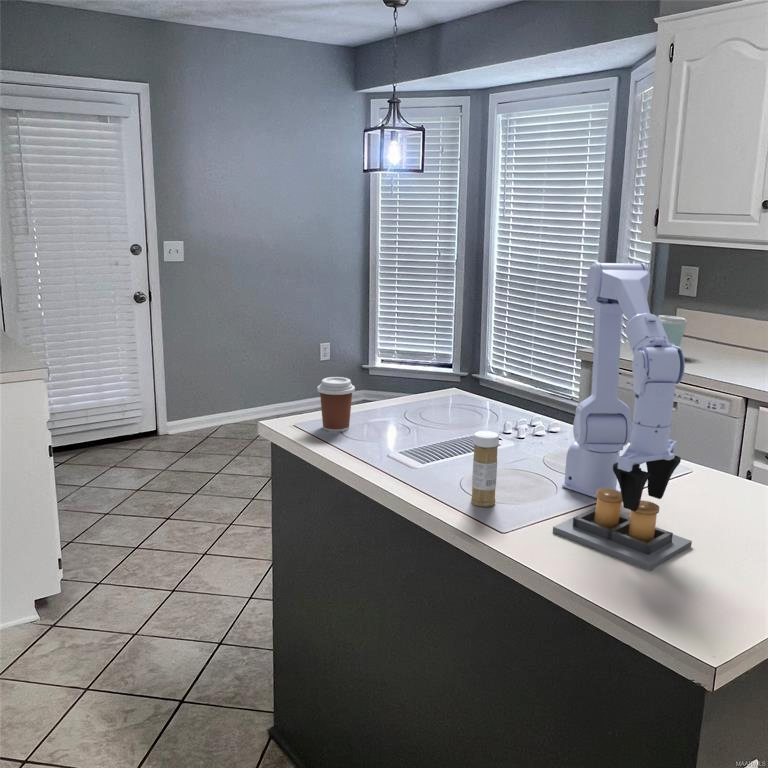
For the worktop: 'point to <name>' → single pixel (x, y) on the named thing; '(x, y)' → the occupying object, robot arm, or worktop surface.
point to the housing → (623, 540)
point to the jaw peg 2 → (643, 521)
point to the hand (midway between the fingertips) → (643, 502)
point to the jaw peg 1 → (608, 507)
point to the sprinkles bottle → (484, 468)
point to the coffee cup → (336, 403)
